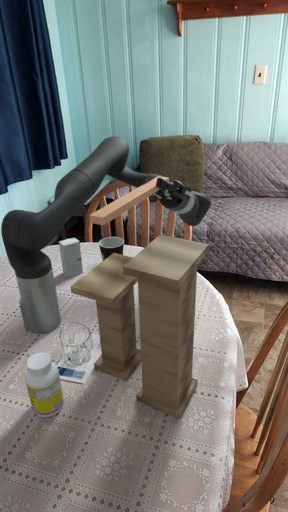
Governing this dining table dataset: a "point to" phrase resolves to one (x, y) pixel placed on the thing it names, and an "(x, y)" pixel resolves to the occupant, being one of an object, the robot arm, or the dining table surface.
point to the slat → (125, 202)
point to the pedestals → (149, 318)
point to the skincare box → (71, 257)
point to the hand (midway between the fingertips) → (150, 181)
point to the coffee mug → (111, 246)
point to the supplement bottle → (44, 385)
